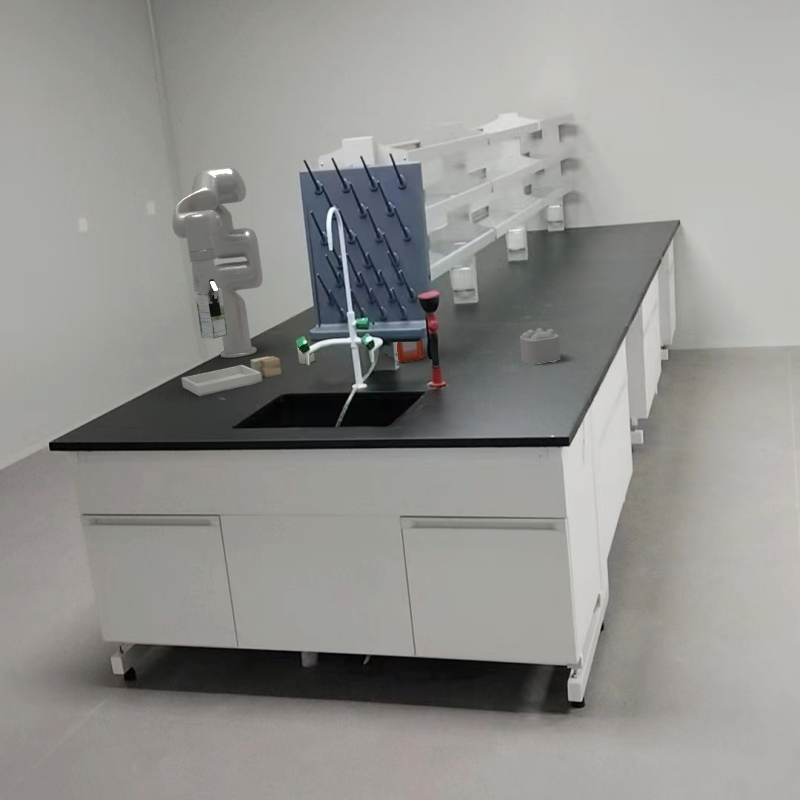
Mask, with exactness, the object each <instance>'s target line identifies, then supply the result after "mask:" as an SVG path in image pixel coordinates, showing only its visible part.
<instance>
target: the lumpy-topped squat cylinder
mask: <svg viewBox="0 0 800 800" xmlns="http://www.w3.org/2000/svg"><path fill="white" fill-rule="evenodd" d="M519 339H520V340H519V342H520V353H521V354H520V355H521V361H522V362H523V361H524V362H526V363H530V364H537V363H543V362H548V361H554V360H558V359H560V360H561V351H560V349H561V348H560V336H559V335H558V334H557V333H556V332H555V330H554V329H553V328H549V329H547V330H546V331H545V330H544V329H543V328H541V327H539V328H538V327H537V328H536V329H535V330H533V329H528V330H527V331H525V332H523V333H522V335H520V336H519ZM524 362H523V363H524ZM526 363H525V364H526Z"/></svg>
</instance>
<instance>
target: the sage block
mask: <svg viewBox="0 0 800 800" xmlns="http://www.w3.org/2000/svg"><path fill="white" fill-rule="evenodd" d="M268 357H270V356H264V357H263V356H262V357H259V358H253V359H250V368H251V369H254V370H256V371H258V372H260V366H259V360H258V359H263V358H268Z"/></svg>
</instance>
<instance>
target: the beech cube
mask: <svg viewBox="0 0 800 800" xmlns="http://www.w3.org/2000/svg"><path fill="white" fill-rule="evenodd" d="M267 357H268V356H267ZM258 360H259V366H260V372H261V375H262V377H265V378H269V377H270V378H271V377H274V376H278V375H282V366H281V360H280V357H279V358H278V357H276V356H273V355H272V356H269V357H268V358H263V359H258Z"/></svg>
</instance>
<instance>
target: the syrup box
mask: <svg viewBox="0 0 800 800" xmlns="http://www.w3.org/2000/svg"><path fill="white" fill-rule="evenodd" d="M212 292H213V291H209V293H212ZM194 295H195V302H196V309H197V316H198V321H199V329H200V336H201V337H200V338H202V339H210V340H211V339H212V340H213V339H217V338H222V336H225V335H227V326H226V319H225V312H224V304H223V297H222V290H221V289H220V288H219V293H218V295H219V303H220V310H221V316H216V317H211V316H210V310H209V304H210V303H209V299H208V293H207V294H206V295H205V296H204V295H201V294H199V291H195V290H194ZM211 298H212V296H211Z"/></svg>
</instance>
